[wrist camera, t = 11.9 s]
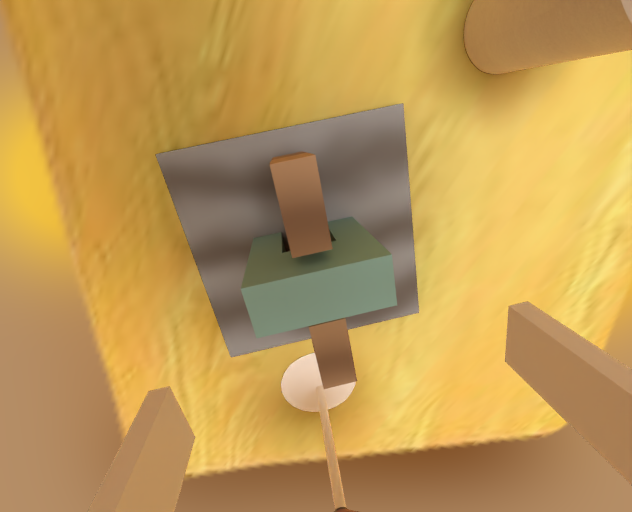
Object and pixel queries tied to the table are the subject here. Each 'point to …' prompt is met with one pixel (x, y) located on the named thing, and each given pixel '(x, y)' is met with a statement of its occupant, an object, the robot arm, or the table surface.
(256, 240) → the green arch block
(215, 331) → the table surface
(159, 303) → the table surface
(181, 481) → the robot arm
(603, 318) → the table surface
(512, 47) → the coffee cup
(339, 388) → the wineglass
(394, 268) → the joint base
